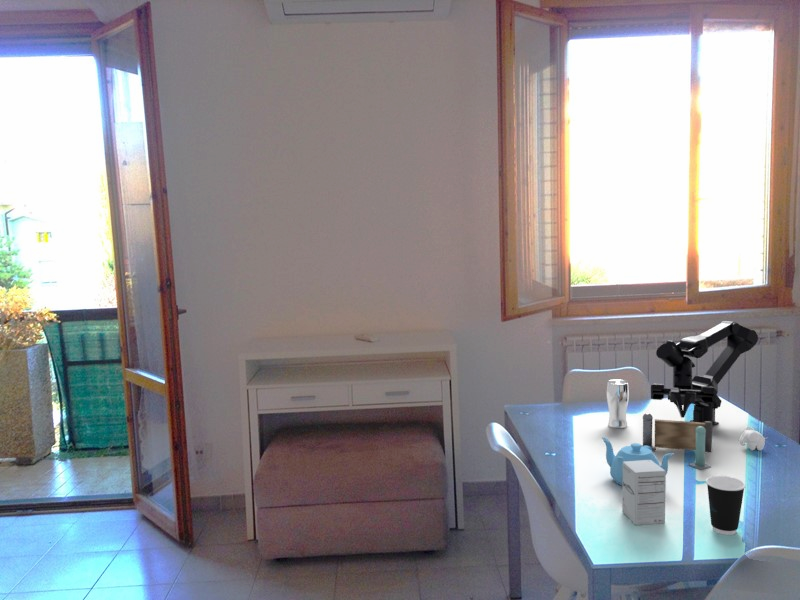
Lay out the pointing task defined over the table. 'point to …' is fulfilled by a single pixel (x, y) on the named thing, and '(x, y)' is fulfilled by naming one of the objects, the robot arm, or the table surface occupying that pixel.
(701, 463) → the post
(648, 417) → the hinge post
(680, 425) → the gate
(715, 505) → the dixie cup
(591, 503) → the table surface
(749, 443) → the elephant figurine
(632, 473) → the supplement box
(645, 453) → the teapot
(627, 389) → the beer glass
